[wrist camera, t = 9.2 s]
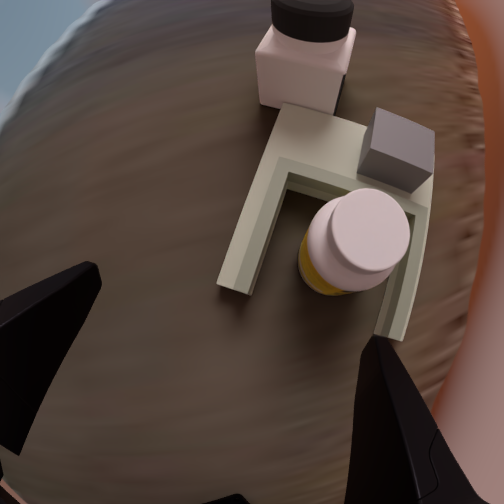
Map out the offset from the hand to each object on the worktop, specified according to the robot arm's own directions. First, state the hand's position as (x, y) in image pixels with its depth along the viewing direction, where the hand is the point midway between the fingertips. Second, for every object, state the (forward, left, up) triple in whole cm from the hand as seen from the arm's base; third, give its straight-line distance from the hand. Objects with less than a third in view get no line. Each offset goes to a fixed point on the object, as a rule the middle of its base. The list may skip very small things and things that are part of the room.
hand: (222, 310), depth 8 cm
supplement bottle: (+7, 0, -14) cm, 15 cm away
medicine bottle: (+15, +15, -14) cm, 25 cm away
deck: (+10, +3, -14) cm, 17 cm away
